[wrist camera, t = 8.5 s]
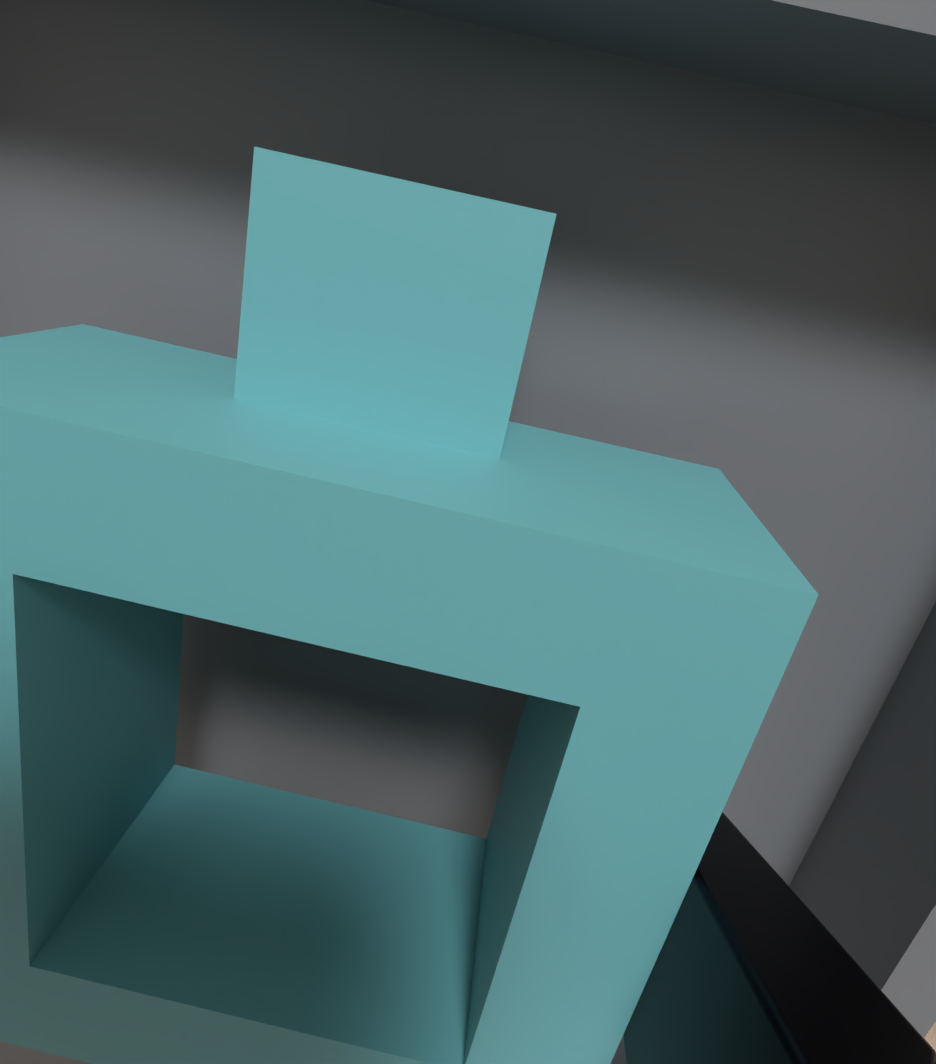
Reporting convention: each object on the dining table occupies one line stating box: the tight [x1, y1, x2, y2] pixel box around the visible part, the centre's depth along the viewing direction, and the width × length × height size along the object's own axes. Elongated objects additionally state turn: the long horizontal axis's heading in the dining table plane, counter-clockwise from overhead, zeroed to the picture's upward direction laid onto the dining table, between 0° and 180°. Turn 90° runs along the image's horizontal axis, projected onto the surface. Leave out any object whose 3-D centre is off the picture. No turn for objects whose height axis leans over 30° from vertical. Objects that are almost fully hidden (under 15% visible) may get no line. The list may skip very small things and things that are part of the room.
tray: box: [0, 0, 936, 1064], centre depth 9 cm, size 16×16×3 cm
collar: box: [0, 147, 819, 1064], centre depth 7 cm, size 7×9×3 cm
